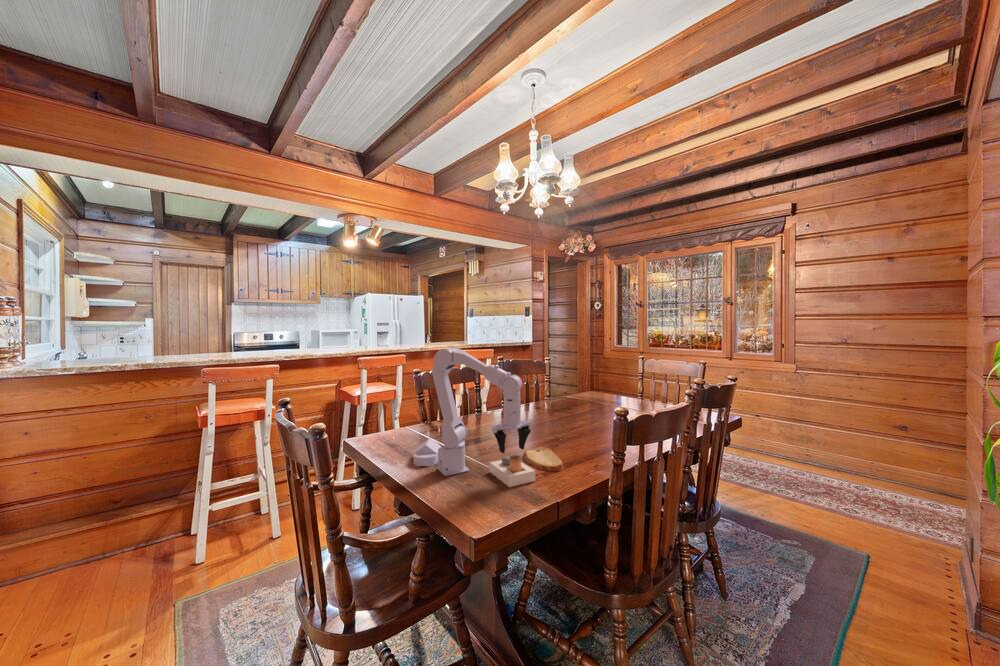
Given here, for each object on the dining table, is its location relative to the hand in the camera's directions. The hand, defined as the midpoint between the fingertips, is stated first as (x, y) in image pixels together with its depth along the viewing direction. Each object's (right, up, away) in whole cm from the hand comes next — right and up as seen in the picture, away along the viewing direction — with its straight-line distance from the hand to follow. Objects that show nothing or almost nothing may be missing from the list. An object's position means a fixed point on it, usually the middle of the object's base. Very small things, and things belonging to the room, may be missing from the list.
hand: (511, 450), depth 132 cm
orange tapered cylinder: (+1, -9, -1) cm, 9 cm away
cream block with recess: (0, -9, +1) cm, 9 cm away
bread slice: (+13, -9, +16) cm, 22 cm away
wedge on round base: (-32, -9, +16) cm, 37 cm away
